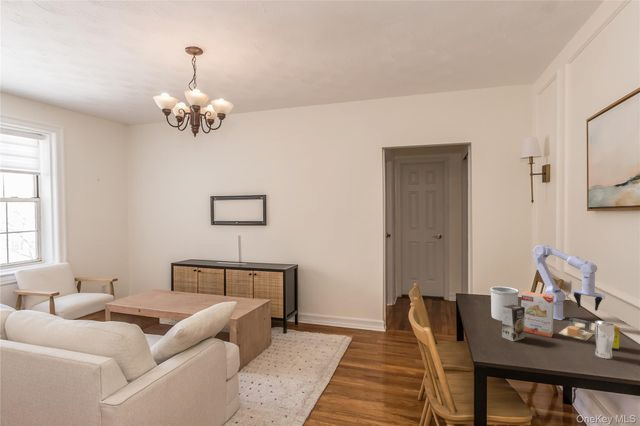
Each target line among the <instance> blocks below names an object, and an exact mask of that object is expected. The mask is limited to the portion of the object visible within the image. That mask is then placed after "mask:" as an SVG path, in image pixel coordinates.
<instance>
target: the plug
mask: <svg viewBox="0 0 640 426" xmlns="http://www.w3.org/2000/svg"><path fill="white" fill-rule="evenodd" d="M568 326H569V325H568ZM567 334H568V335H572V336H576V337H577V336H578V335H579V334H580V327H578V326H576V327H574V326H569V327H568V328H567Z"/></svg>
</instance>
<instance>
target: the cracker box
mask: <svg viewBox="0 0 640 426" xmlns="http://www.w3.org/2000/svg"><path fill="white" fill-rule="evenodd" d="M520 306H522V307H525V322H524V333H529V334H532V335H538V336H542V337H546V338H553V334H554V332H553V331H554V319H553V312H554V296H552V295H546V293H545V294H543V293H538V292H532V291H526V290H524V291H522V292H521V304H520Z"/></svg>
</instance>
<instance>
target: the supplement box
mask: <svg viewBox="0 0 640 426" xmlns="http://www.w3.org/2000/svg"><path fill="white" fill-rule="evenodd" d="M612 350H614V351H619V350H620V326H617V325H616V324H614V341H613V345H612Z"/></svg>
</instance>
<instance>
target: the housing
mask: <svg viewBox="0 0 640 426" xmlns="http://www.w3.org/2000/svg"><path fill="white" fill-rule="evenodd" d="M575 322H578V323H582V324H585V332H590V331H591V323H592V321H589V320H584V319H580V318H575V317H569V319H568V326H574V327H575Z"/></svg>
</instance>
